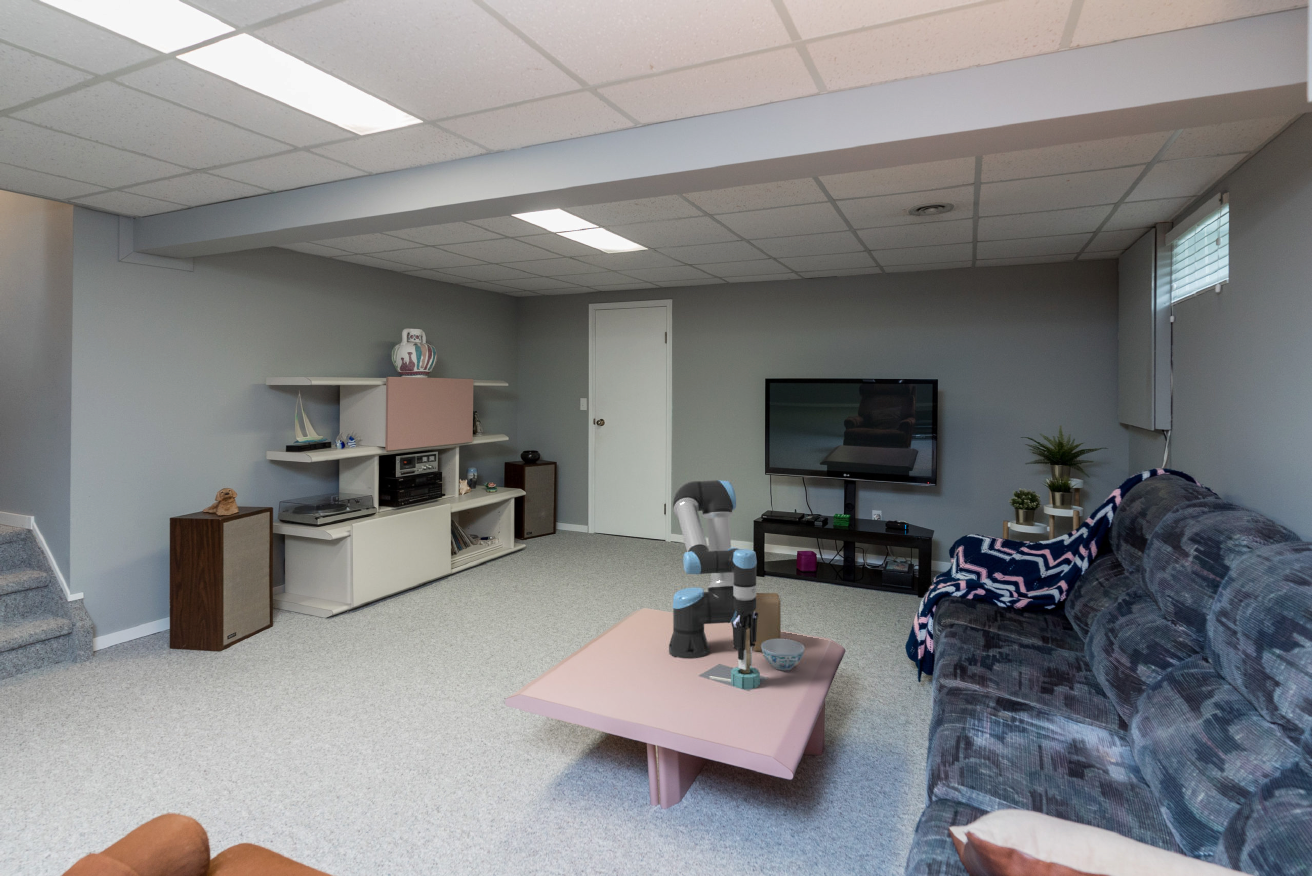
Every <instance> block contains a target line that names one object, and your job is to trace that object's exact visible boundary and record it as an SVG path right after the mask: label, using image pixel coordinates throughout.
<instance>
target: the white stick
mask: <svg viewBox="0 0 1312 876" xmlns="http://www.w3.org/2000/svg"><path fill="white" fill-rule="evenodd" d="M709 678H711V679H717V680H723V681H729V682H731V679H725V678H719V677H713V676H710V677H709Z"/></svg>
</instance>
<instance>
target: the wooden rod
mask: <svg viewBox="0 0 1312 876" xmlns="http://www.w3.org/2000/svg"><path fill="white" fill-rule="evenodd" d="M745 650H746V663H747V669H746V670H744V669H741V674H743V675H748V674H750V667H751V666H750V628H749V627H748V629H747V630H746V640H745Z"/></svg>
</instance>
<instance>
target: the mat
mask: <svg viewBox="0 0 1312 876" xmlns="http://www.w3.org/2000/svg"><path fill="white" fill-rule="evenodd" d="M733 668H734V667H732V666H728V665H726V664H721V663H718V664H717V665H715V666H713V667H712V668H710V669H708V670H706V671H704V672H702V673H701V674H699V675H698V677H701V678H704V679H707V680H711V681H714V682H717V683H720V684H724V685H727V686H730V687H734V686H733V685H732V683H731V682H729V681H723V680H717V679H711V678H709V677H710V676H713V677H719V678H725V679H731V670H732V669H733ZM768 679H769V677H766V676H764V675H760V684H762V683H764V682H765V681H766V680H768ZM734 688H736V689H738V688H737V687H734ZM742 690H743V691H745V692H746V691H747V692H749V691H752V689H744V688H743V689H742Z"/></svg>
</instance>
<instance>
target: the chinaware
mask: <svg viewBox="0 0 1312 876" xmlns="http://www.w3.org/2000/svg"><path fill="white" fill-rule="evenodd" d="M761 648H762V652H761V653H762V655H763V657H764V658H765V660H766V661H767V663H769V664H770V665H771V666H772V668H774V669H775V670H779V671H790V670H792V669H793V668H794V667H795V666H797V665H798V664H799V662H800V661H801V660H802V658H803V656H804V652H805V649H806V648H805V645H804V644H803V643H801V642H799V641H796V640H793V639H789V638H781V639H770V640H767V641H764V642H763V643H762V644H761Z"/></svg>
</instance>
